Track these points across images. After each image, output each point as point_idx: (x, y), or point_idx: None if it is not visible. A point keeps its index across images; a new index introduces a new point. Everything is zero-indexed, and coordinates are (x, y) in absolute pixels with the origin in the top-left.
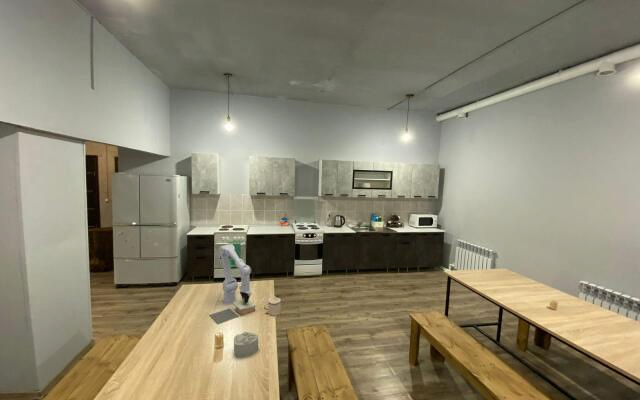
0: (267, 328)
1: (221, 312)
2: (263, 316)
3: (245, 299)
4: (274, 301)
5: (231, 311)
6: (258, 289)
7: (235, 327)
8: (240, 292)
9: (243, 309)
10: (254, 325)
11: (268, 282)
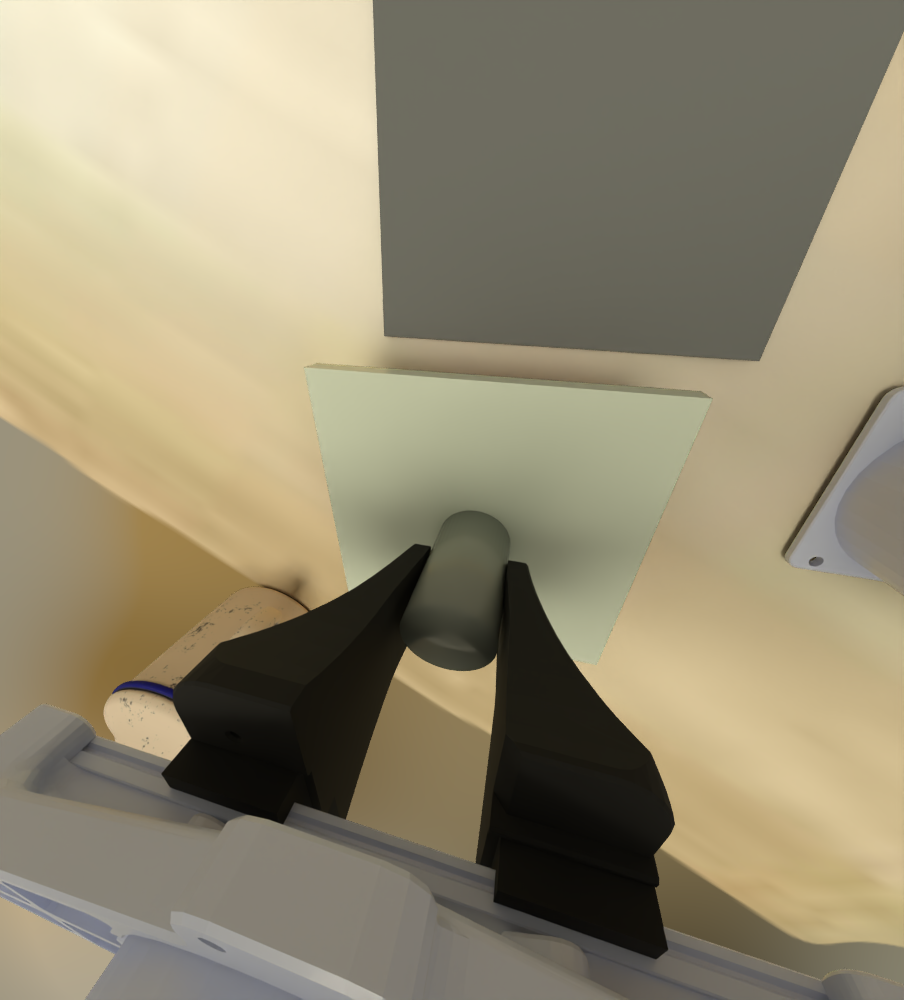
0: (66, 437)
1: (789, 100)
2: (262, 538)
3: (362, 591)
4: (114, 731)
5: (619, 322)
6: (781, 840)
7: (160, 125)
8: (549, 768)
9: None
10: (139, 376)
11: (792, 932)
